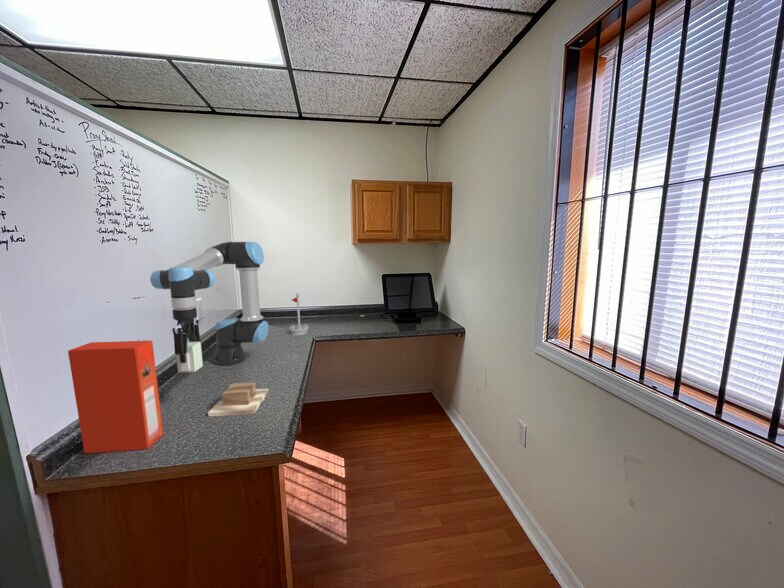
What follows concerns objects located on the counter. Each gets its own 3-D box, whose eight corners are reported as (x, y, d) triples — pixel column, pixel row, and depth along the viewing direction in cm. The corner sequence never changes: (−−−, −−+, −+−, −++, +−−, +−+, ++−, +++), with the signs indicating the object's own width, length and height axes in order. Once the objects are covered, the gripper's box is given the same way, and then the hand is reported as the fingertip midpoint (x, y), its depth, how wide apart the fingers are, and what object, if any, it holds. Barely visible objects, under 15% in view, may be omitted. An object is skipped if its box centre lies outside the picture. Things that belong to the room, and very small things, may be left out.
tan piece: (229, 393, 128) (227, 379, 128) (268, 391, 130) (267, 377, 129) (208, 416, 111) (206, 399, 110) (254, 413, 112) (253, 397, 112)
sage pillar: (186, 366, 120) (184, 342, 119) (202, 365, 121) (200, 341, 120) (177, 372, 114) (175, 346, 113) (194, 371, 115) (192, 346, 114)
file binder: (146, 450, 92) (134, 348, 88) (83, 454, 90) (67, 350, 86) (163, 434, 100) (152, 340, 96) (105, 438, 98) (92, 342, 94)
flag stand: (311, 331, 231) (309, 292, 227) (304, 335, 218) (302, 294, 214) (294, 330, 232) (292, 291, 228) (287, 335, 219) (285, 294, 215)
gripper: (187, 303, 123) (193, 358, 127) (157, 313, 105) (164, 377, 108) (207, 303, 124) (212, 357, 127) (180, 313, 105) (187, 376, 109)
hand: (190, 366), depth 118 cm, fingers closed on sage pillar, 6 cm apart
